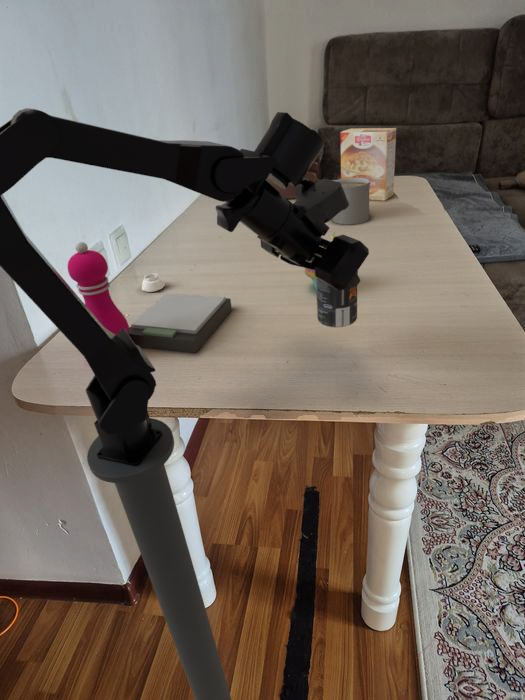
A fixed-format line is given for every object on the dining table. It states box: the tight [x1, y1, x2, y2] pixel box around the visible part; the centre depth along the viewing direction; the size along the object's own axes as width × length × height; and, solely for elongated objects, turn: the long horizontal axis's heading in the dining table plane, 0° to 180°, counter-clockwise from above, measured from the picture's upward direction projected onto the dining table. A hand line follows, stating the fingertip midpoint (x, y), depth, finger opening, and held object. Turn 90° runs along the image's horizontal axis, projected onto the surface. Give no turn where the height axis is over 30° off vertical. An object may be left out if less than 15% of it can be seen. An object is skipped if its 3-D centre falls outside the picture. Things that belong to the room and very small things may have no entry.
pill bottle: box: [316, 248, 359, 328], centre depth 70 cm, size 6×6×11 cm
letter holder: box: [266, 152, 322, 200], centre depth 159 cm, size 10×20×14 cm, turn 77°
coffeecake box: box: [340, 127, 397, 202], centre depth 147 cm, size 15×7×20 cm, turn 55°
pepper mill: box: [67, 241, 130, 335], centre depth 79 cm, size 7×7×20 cm
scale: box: [128, 292, 233, 354], centre depth 90 cm, size 16×14×3 cm
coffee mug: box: [332, 178, 370, 225], centre depth 134 cm, size 13×10×10 cm
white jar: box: [141, 273, 166, 293], centre depth 106 cm, size 5×3×5 cm
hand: (344, 276), depth 70 cm, fingers closed on pill bottle, 6 cm apart
